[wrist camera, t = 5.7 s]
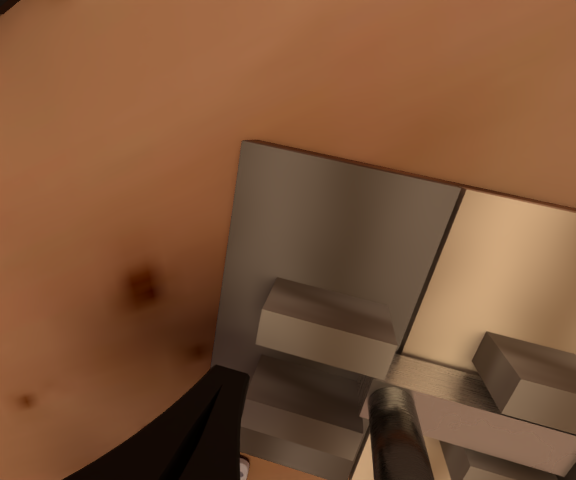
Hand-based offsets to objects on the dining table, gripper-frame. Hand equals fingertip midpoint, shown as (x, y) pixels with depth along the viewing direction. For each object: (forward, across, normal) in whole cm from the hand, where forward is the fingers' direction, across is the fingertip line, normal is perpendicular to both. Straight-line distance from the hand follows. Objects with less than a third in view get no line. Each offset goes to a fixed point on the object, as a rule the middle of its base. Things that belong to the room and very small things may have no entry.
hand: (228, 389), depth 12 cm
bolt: (+4, -9, 0) cm, 10 cm away
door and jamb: (+6, -7, 0) cm, 9 cm away
